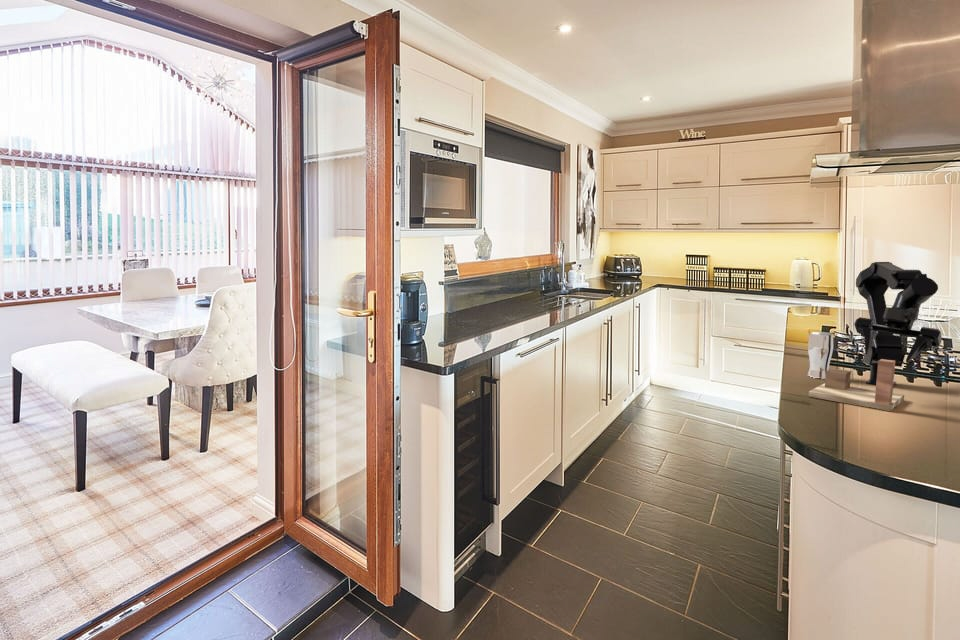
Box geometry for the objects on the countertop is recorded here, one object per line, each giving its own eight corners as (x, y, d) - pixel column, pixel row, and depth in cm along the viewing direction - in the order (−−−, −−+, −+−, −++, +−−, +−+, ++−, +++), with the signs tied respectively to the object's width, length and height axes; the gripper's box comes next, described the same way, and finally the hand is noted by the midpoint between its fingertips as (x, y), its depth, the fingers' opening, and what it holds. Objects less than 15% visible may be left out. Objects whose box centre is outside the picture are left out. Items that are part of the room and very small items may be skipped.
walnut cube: (830, 384, 154) (831, 368, 153) (849, 387, 150) (851, 370, 150) (824, 387, 151) (825, 370, 150) (844, 390, 147) (845, 373, 146)
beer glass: (835, 379, 165) (838, 335, 163) (811, 379, 166) (814, 334, 164) (825, 374, 172) (828, 331, 170) (802, 374, 173) (805, 331, 171)
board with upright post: (825, 386, 156) (828, 346, 155) (903, 399, 142) (908, 354, 140) (808, 396, 147) (811, 353, 145) (890, 411, 132) (894, 363, 131)
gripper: (860, 290, 144) (841, 337, 141) (946, 300, 130) (927, 352, 127) (866, 309, 151) (848, 354, 148) (949, 321, 137) (930, 371, 134)
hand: (886, 357), depth 139 cm, fingers open, 9 cm apart
